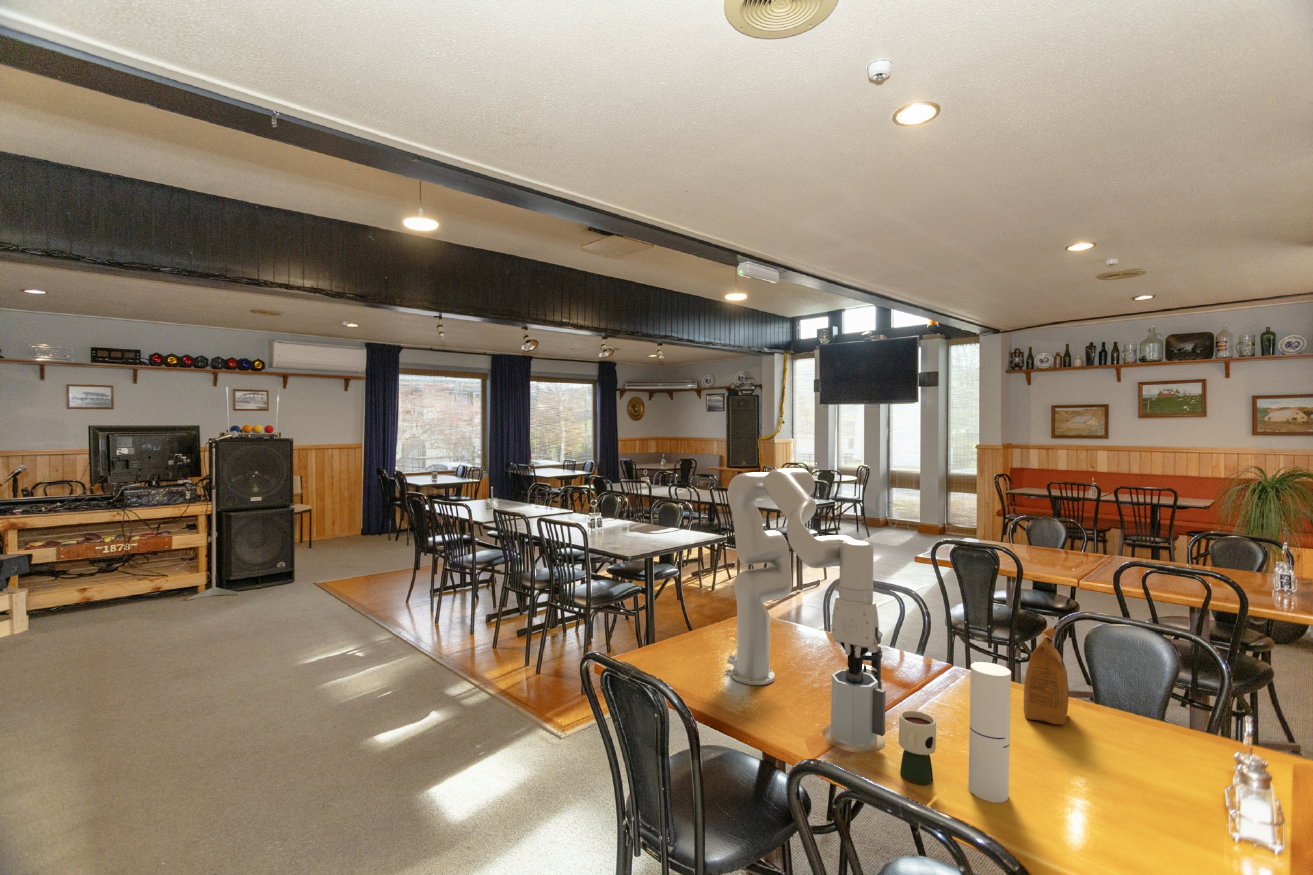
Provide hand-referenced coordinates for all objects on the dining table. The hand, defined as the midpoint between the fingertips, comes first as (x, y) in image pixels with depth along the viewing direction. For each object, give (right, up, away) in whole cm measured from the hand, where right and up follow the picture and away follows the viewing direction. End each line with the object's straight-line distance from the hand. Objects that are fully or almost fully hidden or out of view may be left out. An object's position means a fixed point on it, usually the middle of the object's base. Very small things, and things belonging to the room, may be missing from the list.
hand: (855, 671), depth 144 cm
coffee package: (+53, -17, +14) cm, 58 cm away
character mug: (+8, -17, -16) cm, 24 cm away
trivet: (0, -16, 0) cm, 16 cm away
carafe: (+1, -16, 0) cm, 16 cm away
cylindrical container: (+20, -17, -20) cm, 33 cm away
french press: (+12, -16, +27) cm, 33 cm away
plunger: (0, -12, 0) cm, 12 cm away
